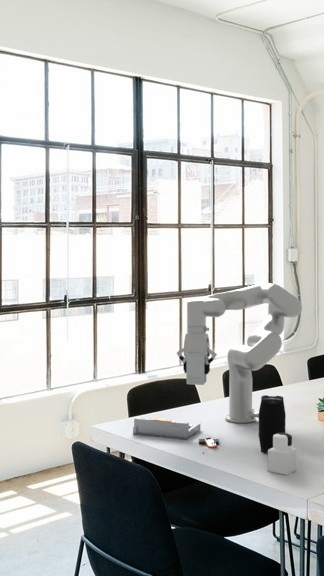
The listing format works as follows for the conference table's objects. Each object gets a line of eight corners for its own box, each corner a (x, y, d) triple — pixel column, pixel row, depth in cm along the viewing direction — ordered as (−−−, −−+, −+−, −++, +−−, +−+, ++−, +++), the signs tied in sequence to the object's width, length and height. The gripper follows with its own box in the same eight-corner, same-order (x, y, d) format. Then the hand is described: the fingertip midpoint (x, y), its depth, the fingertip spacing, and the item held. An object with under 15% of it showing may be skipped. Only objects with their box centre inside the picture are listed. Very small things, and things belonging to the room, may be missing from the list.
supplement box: (204, 385, 282) (204, 353, 281) (186, 384, 283) (185, 353, 282) (207, 381, 289) (206, 351, 288) (189, 381, 290) (189, 350, 290)
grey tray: (200, 430, 280) (200, 414, 279) (186, 440, 265) (186, 423, 265) (149, 425, 288) (149, 409, 287) (133, 434, 273) (133, 418, 273)
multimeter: (229, 457, 245) (229, 447, 245) (194, 455, 246) (195, 446, 246) (231, 443, 263) (231, 434, 262) (199, 442, 264) (199, 433, 264)
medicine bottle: (276, 466, 233) (277, 430, 233) (296, 469, 229) (297, 433, 229) (267, 471, 227) (267, 434, 227) (287, 475, 223) (288, 438, 223)
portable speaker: (254, 450, 252) (254, 395, 251) (277, 447, 255) (277, 393, 255) (266, 456, 244) (266, 400, 243) (289, 453, 247) (290, 398, 247)
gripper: (219, 329, 285) (219, 373, 286) (179, 328, 291) (179, 370, 292) (214, 332, 278) (214, 376, 279) (173, 330, 284) (173, 373, 285)
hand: (196, 372), depth 286 cm, fingers closed on supplement box, 8 cm apart
